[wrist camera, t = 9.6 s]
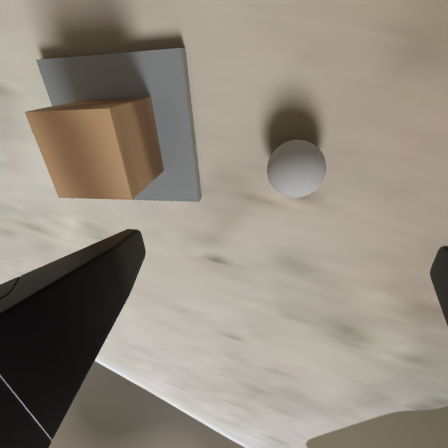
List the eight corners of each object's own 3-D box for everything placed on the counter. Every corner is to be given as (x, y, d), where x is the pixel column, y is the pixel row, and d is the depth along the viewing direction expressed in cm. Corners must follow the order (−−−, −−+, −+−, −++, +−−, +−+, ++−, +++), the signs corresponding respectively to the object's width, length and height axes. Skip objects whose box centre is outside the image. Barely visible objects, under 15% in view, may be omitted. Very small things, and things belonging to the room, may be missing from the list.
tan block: (150, 96, 18) (109, 108, 14) (164, 170, 20) (132, 199, 16) (83, 100, 19) (24, 111, 15) (103, 170, 21) (58, 197, 17)
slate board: (185, 48, 17) (180, 47, 16) (201, 197, 22) (198, 201, 21) (45, 59, 19) (36, 59, 18) (90, 194, 24) (84, 198, 23)
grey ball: (325, 133, 18) (333, 148, 15) (319, 185, 20) (325, 208, 17) (269, 134, 18) (265, 148, 15) (268, 184, 20) (264, 206, 17)
